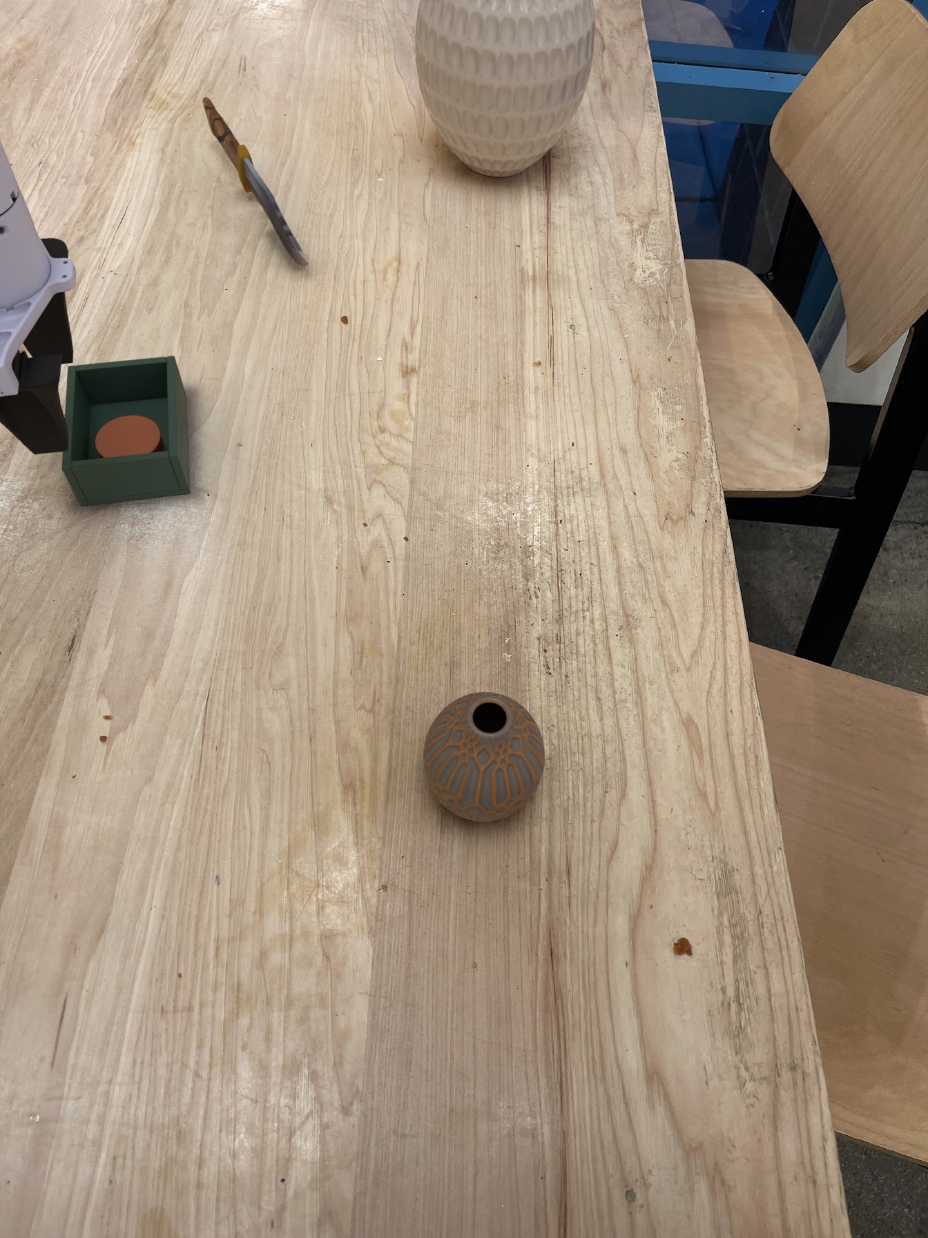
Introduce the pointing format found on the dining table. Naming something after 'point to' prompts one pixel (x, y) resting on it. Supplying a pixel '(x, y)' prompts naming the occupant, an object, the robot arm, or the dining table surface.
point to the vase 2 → (484, 756)
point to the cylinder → (129, 437)
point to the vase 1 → (503, 75)
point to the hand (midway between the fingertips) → (54, 403)
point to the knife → (252, 180)
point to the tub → (116, 394)
